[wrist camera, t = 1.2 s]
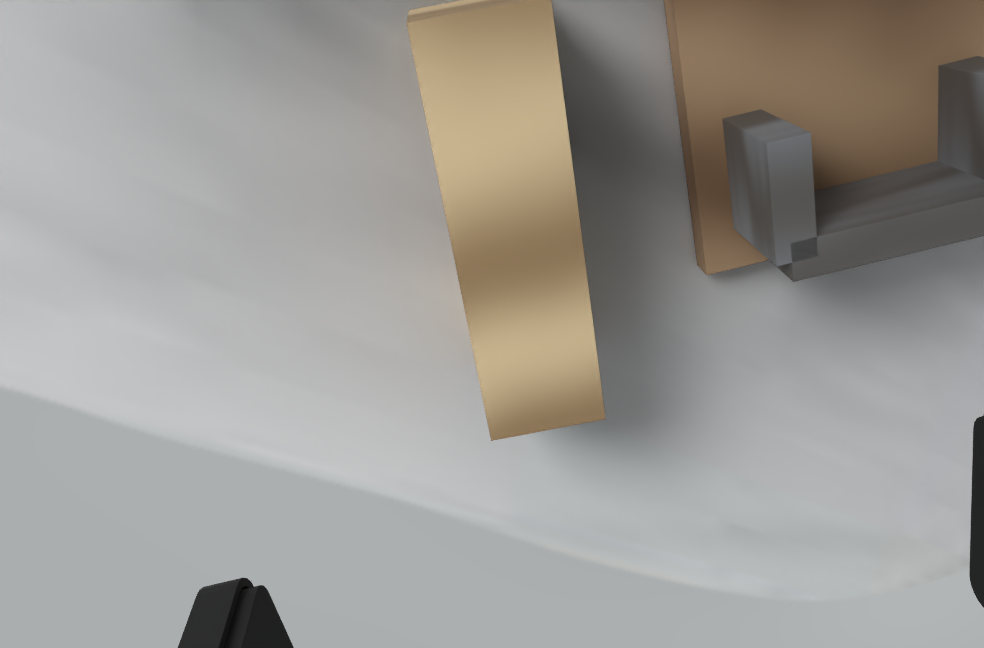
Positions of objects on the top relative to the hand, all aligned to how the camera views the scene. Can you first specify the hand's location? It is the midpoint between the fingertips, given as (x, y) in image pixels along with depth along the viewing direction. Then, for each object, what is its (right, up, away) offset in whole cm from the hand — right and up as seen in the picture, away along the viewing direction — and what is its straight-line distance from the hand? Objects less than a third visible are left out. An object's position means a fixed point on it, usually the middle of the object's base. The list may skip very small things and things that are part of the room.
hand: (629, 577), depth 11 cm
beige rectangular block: (-1, +8, +16) cm, 18 cm away
